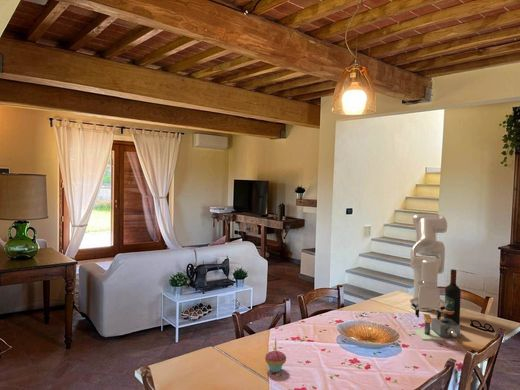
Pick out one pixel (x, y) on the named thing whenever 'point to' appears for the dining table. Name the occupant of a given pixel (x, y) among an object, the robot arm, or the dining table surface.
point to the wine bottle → (452, 299)
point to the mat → (427, 337)
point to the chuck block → (445, 327)
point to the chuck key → (427, 323)
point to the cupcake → (275, 360)
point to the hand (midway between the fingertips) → (427, 317)
